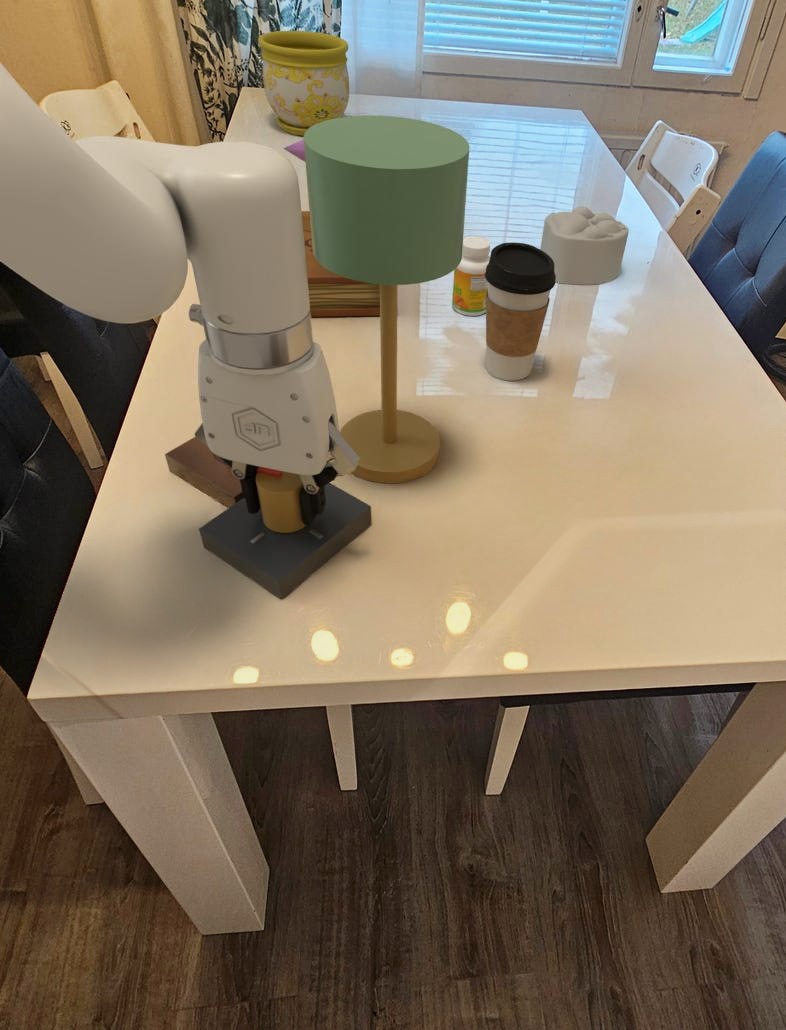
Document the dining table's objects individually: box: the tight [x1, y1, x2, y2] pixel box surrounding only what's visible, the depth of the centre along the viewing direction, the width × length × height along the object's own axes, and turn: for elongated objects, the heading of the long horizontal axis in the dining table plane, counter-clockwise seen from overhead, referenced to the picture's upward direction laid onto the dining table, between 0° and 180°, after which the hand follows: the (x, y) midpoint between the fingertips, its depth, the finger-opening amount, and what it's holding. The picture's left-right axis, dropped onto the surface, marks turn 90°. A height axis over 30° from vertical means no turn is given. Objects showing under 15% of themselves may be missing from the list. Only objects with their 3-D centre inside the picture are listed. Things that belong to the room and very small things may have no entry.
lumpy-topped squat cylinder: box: [539, 206, 630, 286], centre depth 112 cm, size 10×13×9 cm
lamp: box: [303, 115, 470, 484], centre depth 67 cm, size 13×13×32 cm
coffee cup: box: [485, 242, 557, 382], centre depth 86 cm, size 8×8×15 cm
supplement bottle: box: [451, 235, 491, 317], centre depth 99 cm, size 5×5×10 cm
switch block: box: [164, 436, 244, 509], centre depth 73 cm, size 12×10×4 cm
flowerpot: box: [257, 30, 350, 137], centre depth 150 cm, size 18×18×16 cm
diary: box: [301, 210, 380, 318], centre depth 103 cm, size 23×19×6 cm
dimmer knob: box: [256, 467, 306, 533], centre depth 63 cm, size 4×4×5 cm
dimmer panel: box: [198, 482, 372, 600], centre depth 66 cm, size 12×10×3 cm
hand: (286, 508), depth 65 cm, fingers closed on dimmer knob, 4 cm apart
